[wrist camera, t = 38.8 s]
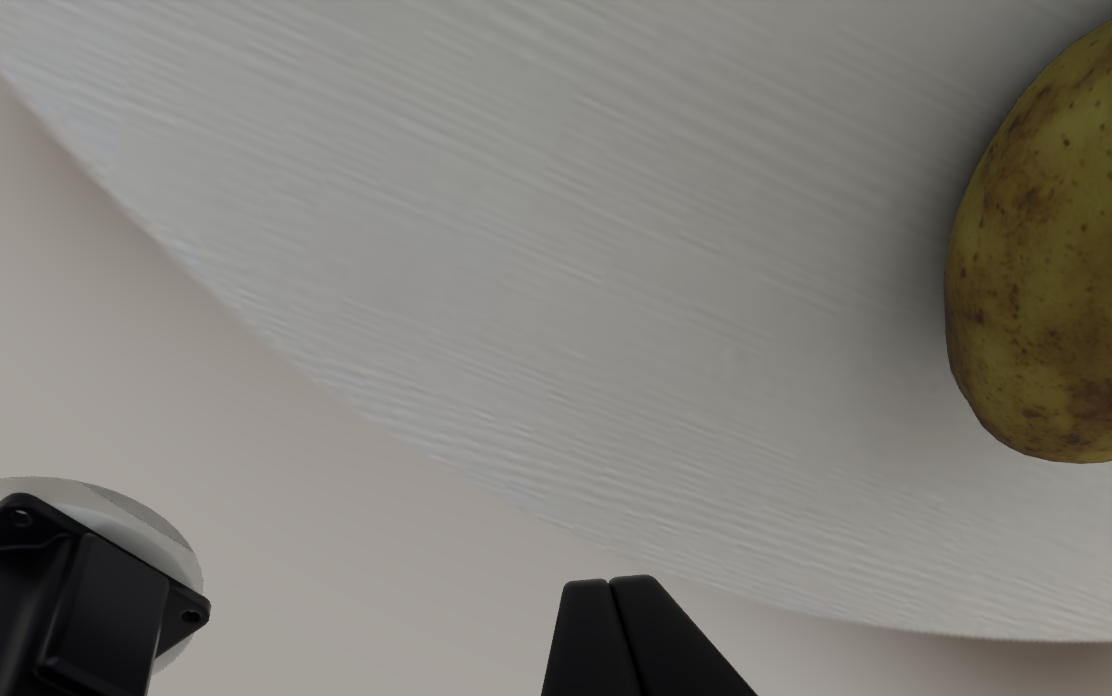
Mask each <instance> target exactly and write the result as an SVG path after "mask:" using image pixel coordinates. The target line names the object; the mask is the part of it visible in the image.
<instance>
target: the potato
mask: <svg viewBox="0 0 1112 696" xmlns="http://www.w3.org/2000/svg"><path fill="white" fill-rule="evenodd" d="M944 302H945V324H946V341H947V352H948V358H949V363H950V368H951V372H952V374H953V376H954V379H955V381H956V383H957V385H958V387H959V389H960V391H961V392H962V394H963V396H964V397H965V398H966V399H967V401H968V403H969V405H970V406H971V408H972V410H973V412H974V413H975V415H976V417H977V418H978V420H979V422H980V423H981V425H982V426H983V427H984V428H985V429H986V430H987V431H988V432H989V433H990V434H991V435H993V436H994V437H995V438H996V439H997V440H998V441H1000V442H1001V443H1003V444H1005V445H1006V446H1008V447H1010V448H1011V449H1013V450H1016V451H1018V452H1020V453H1022V454H1024V455H1028V456H1032V457H1036V458H1040V459H1044V460H1048V461H1054V462H1066V463H1078V464H1085V463H1103V462H1108V461H1112V19H1111V20H1110V21H1108V22H1106V23H1104V24H1103V25H1101V26H1099V27H1097V28H1096V29H1094V30H1093V31H1091V32H1090V33H1088V34H1087V35H1085V36H1084V37H1082V38H1080V39H1079V40H1077V41H1076V42H1074V43H1073V44H1071V45H1070V46H1069V47H1068V48H1067V49H1066V50H1064V51H1063V52H1062V53H1061V54H1060V55H1059V56H1058V57H1056V58H1055V59H1054V60H1053V61H1052V62H1051V63H1050V64H1049V65H1048V66H1047V67H1046V68H1044V69H1043V70H1042V72H1041V73H1040V74H1039V75H1038V76H1037V77H1036V79H1035V80H1034V81H1033V82H1032V83H1031V85H1030V86H1029V87H1028V88H1027V89H1026V91H1025V92H1024V93H1023V94H1022V95H1021V96H1020V98H1019V99H1018V101H1017V102H1016V104H1015V105H1014V107H1013V108H1012V110H1011V111H1010V113H1009V114H1008V116H1007V117H1006V119H1005V120H1004V122H1003V123H1002V125H1001V126H1000V128H999V129H998V131H997V133H996V134H995V136H994V137H993V139H992V141H991V142H990V144H989V146H988V148H987V149H986V151H985V153H984V155H983V156H982V158H981V160H980V162H979V164H978V165H977V167H976V169H975V171H974V173H973V175H972V177H971V180H970V182H969V184H968V187H967V189H966V192H965V194H964V196H963V199H962V201H961V204H960V206H959V209H958V212H957V215H956V218H955V221H954V224H953V228H952V232H951V236H950V239H949V244H948V251H947V258H946V264H945V271H944Z"/></svg>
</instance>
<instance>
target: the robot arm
mask: <svg viewBox="0 0 1112 696" xmlns="http://www.w3.org/2000/svg"><path fill="white" fill-rule="evenodd" d="M16 511H23V512H26V513H27V514H22V513H19V512H16ZM210 609H211V604H210V601H209V600H208V599H206V598H205V597H204V596H202V595H201V594H199V593H197V592H195V591H194V590H192V589H190V588H189V587H187V586H185V585H184V584H182V583H180V582H179V581H177V580H175V579H174V578H172V577H170V576H169V575H167V574H165V573H164V572H162V571H160V570H159V569H157V568H155V567H154V566H152V565H150V564H148V563H147V562H145V561H143V560H142V559H140V558H138V557H137V556H135V555H133V554H132V553H130V552H128V551H127V550H125V549H123V548H122V547H120V546H118V545H117V544H115V543H113V542H112V541H110V540H108V539H107V538H105V537H103V536H101V535H100V534H98V533H96V532H95V531H93V530H91V529H90V528H88V527H86V526H85V525H83V524H81V523H80V522H78V521H76V520H75V519H73V518H71V517H70V516H68V515H66V514H65V513H63V512H61V511H60V510H58V509H56V508H55V507H53V506H51V505H49V504H48V503H46V502H44V501H43V500H41V499H39V498H38V497H36V496H34V495H31V494H29V493H22V492H19V493H12V494H10V495H8V496H6V497H5V498H4V499H2V500H1V501H0V696H147V693H148V688H149V683H150V679H151V674H152V669H153V665H154V660H155V659H156V658H158V657H159V656H161V655H162V654H163V653H165V652H166V651H168V650H169V649H171V648H172V647H174V646H175V645H177V644H178V643H179V642H181V641H182V640H184V639H185V638H187V637H188V636H190V635H191V634H192V633H194V632H195V631H197V630H198V629H200V628H201V627H202V626H204V625H205V624H206V623H207V622H208V621H209V616H210ZM190 611H194V612H190ZM541 696H758V695H757V694H756V693H755V692H754V691H753V690H752V689H751V687H750V686H749V685H748V684H747V683H746V682H745V681H744V679H743V678H742V677H741V676H740V675H739V674H738V672H737V671H736V670H735V669H734V668H733V667H732V666H731V664H730V663H729V662H728V661H727V660H726V659H725V658H724V656H723V655H722V654H721V653H720V652H719V651H718V650H717V649H716V647H715V646H714V645H713V644H712V643H711V642H710V640H708V638H707V637H706V636H705V635H704V634H703V632H702V631H701V630H700V629H699V628H698V627H697V626H696V624H695V623H694V622H693V621H692V620H691V619H690V618H689V616H688V615H687V614H686V613H685V612H684V611H683V610H682V608H681V607H680V606H679V605H678V604H677V603H676V602H675V600H674V599H673V598H672V597H671V596H670V595H669V594H668V592H667V591H666V590H665V589H664V588H663V587H662V586H661V584H660V583H659V582H658V581H657V580H656V579H655V578H654V577H652V576H650V575H634V576H622V577H615V578H612V579H611V580H610V581H609V583H607V581H606V580H604V579H590V580H579V581H570V582H568V583H566V584H565V586H564V589H563V592H562V597H561V602H560V607H559V612H558V616H557V621H556V626H555V631H554V636H553V640H552V645H551V650H550V655H549V659H548V664H547V669H546V674H545V679H544V683H543V688H542V693H541Z"/></svg>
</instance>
